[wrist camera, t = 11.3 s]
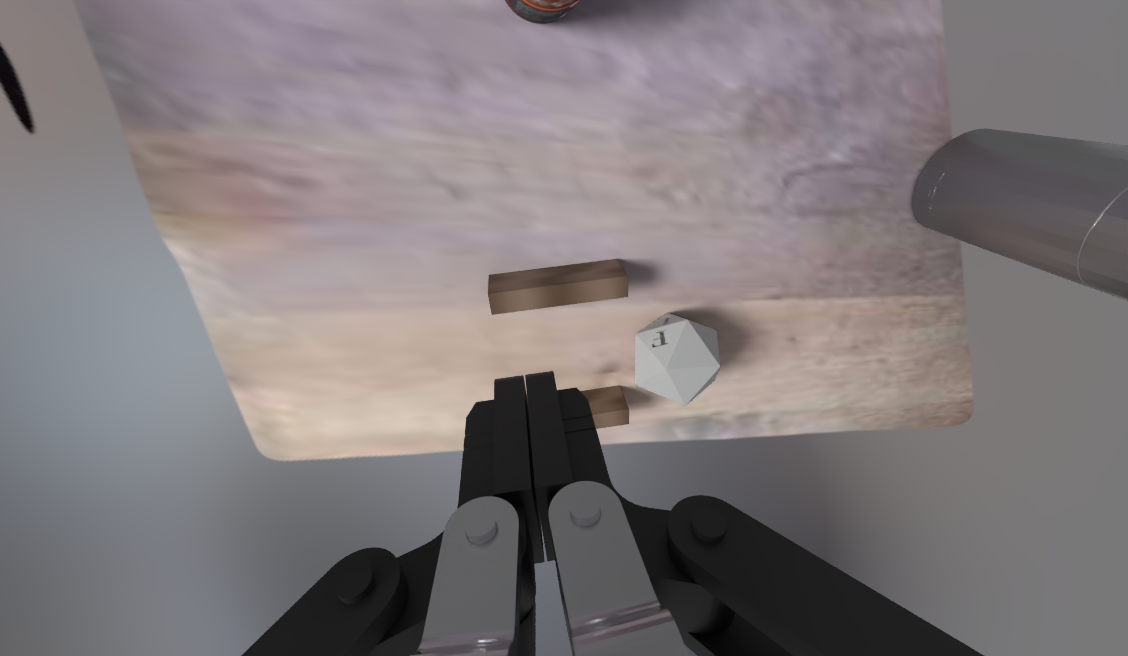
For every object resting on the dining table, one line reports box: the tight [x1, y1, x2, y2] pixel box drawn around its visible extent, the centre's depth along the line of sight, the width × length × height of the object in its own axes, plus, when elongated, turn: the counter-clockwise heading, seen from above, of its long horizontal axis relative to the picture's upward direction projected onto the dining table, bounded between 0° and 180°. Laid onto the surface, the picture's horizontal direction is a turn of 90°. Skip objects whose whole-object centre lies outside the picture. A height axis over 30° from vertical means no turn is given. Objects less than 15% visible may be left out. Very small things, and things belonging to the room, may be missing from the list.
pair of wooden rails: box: [488, 259, 629, 429], centre depth 43 cm, size 12×17×4 cm
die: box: [635, 313, 720, 406], centre depth 43 cm, size 8×9×10 cm
